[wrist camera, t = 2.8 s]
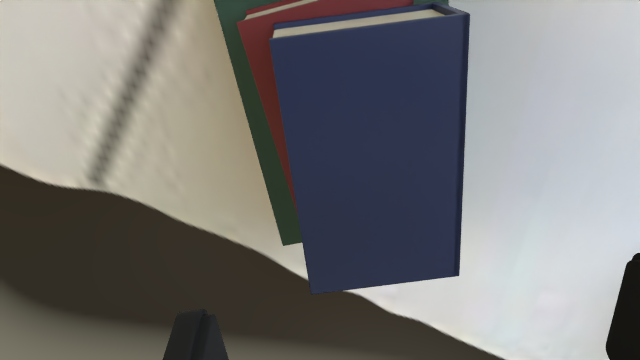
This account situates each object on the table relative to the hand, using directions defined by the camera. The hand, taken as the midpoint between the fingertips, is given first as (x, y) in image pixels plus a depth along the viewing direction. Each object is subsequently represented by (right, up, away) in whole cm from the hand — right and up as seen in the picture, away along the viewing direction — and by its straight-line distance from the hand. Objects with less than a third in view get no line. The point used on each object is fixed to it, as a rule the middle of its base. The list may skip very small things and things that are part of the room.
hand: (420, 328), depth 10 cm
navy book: (0, +5, +10) cm, 11 cm away
